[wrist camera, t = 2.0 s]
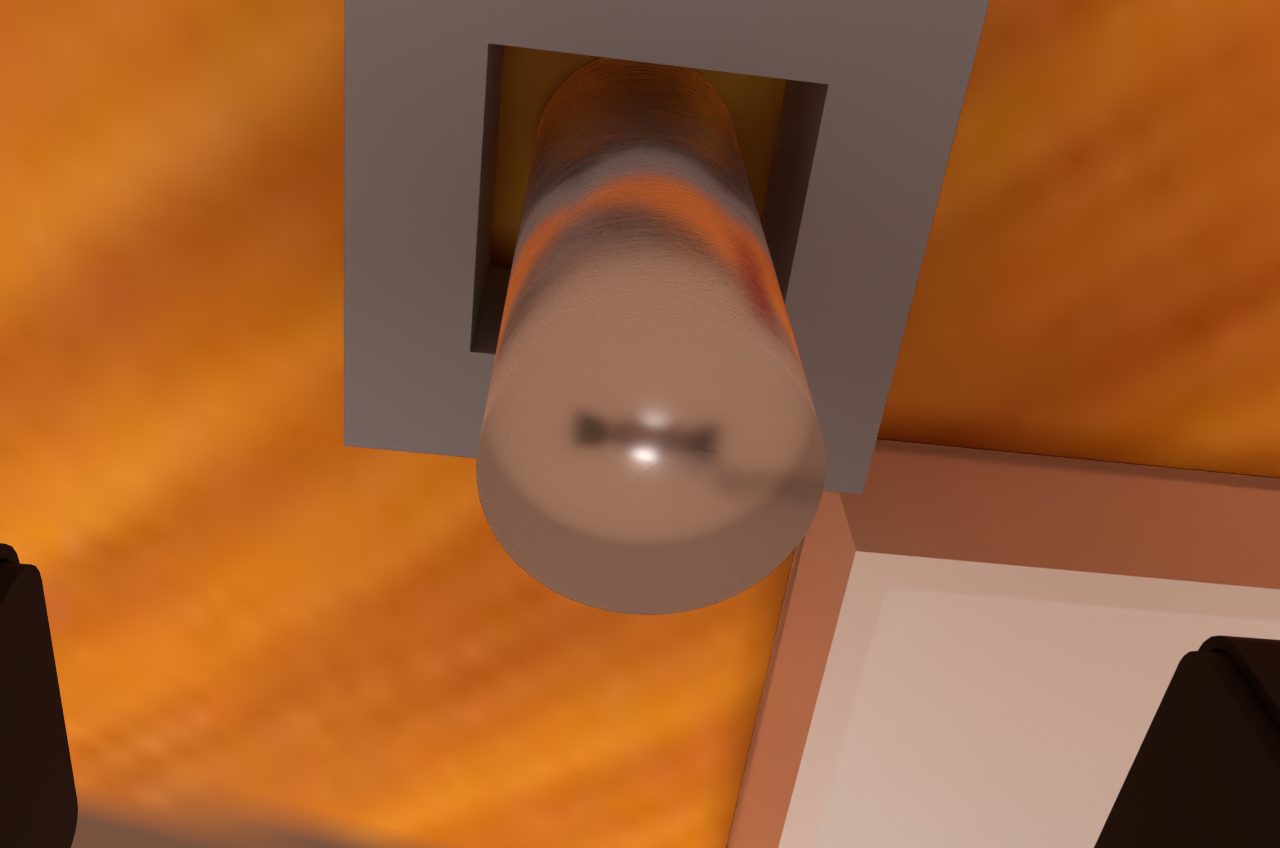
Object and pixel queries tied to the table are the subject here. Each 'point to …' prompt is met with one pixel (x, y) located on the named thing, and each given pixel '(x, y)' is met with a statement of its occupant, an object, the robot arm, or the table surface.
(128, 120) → the table surface
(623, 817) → the table surface
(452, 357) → the block
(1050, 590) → the tray
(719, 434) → the pin
